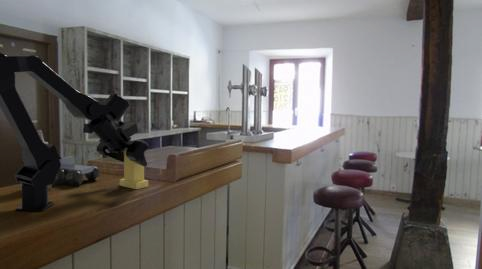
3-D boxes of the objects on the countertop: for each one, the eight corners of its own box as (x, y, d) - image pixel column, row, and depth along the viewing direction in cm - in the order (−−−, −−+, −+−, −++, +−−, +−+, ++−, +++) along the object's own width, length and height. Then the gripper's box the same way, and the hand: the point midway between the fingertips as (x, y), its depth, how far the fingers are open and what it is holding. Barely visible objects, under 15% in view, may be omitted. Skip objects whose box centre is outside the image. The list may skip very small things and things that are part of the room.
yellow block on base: (136, 189, 110) (136, 150, 109) (119, 185, 114) (119, 147, 113) (148, 186, 114) (148, 148, 113) (131, 182, 119) (132, 146, 117)
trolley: (80, 186, 111) (80, 161, 110) (51, 183, 113) (50, 159, 113) (99, 180, 120) (100, 157, 120) (72, 177, 123) (72, 155, 122)
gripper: (143, 114, 103) (169, 148, 114) (104, 111, 113) (131, 142, 124) (121, 142, 98) (151, 175, 108) (82, 137, 108) (112, 167, 118)
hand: (136, 164), depth 114 cm, fingers open, 9 cm apart
